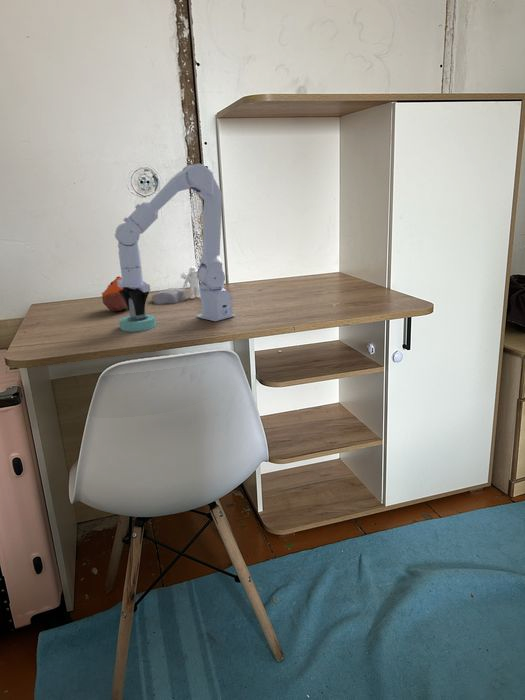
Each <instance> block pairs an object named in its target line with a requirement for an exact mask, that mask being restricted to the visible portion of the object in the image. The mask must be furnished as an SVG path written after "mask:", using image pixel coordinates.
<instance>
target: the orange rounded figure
mask: <svg viewBox="0 0 525 700" xmlns="http://www.w3.org/2000/svg"><path fill="white" fill-rule="evenodd" d="M117 280H122V276H116V277H115V279H113V280H112V281H111V282H110V283H109V284H108V285H107V288H106V289H105V290H104V291H102V292H101V296H102V297H101V298H102V303H103V305H104V306H105V307H106V308H107V309H109V311H112V312H121V311H123V310H126V309H128V308H127V305H126V303H125V300H124V299H123V297H122V295H121V294H120V293H119V290H123V289H124V288H123V287H118V284H117Z"/></svg>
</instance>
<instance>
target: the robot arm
mask: <svg viewBox="0 0 525 700" xmlns="http://www.w3.org/2000/svg"><path fill="white" fill-rule="evenodd" d="M189 189H190V190H193V192H195V193H197V195H199V197H200V198H202V199H203V219H202V221H203V223H202V225H203V228H202V254H201V258H200V261H199V263H200V266H198V268H197V269H198V271H197V277H198V279H199V283H200V284H199V288H200V307H201V314H196V315H195V317H196V318H200V319H203V320H208V321H212V322H218V321H221V320H226V319H229V318H233V317H235V316H236V314H233V300H232V298H233V297H232V295H231V292H230V291H228V290H226V289H225V288H224V287H225V286H224V283H225V281H226V275H225V272H224V270H223V262H222V258H221V234H222V233H221V231H222V230H221V229H222V207H223V206H222V202H223V201H222V200H223V195H222V194H223V192H222V191H221V189H220V187H219V185H218V183H217V181H216V178H215V176H214V173H213V171H212V170H210V169H209V167H207V166H206V165H205V164H202V163H194V164H188V165H186V166H185V167H183V168H182V170H180V171H179V172H177V173H176V174H175V175H174V176H173V177H171V178H170V180H169V181H168V182H167V183H166V184H165V185H164V186H163V187H162V188H161V189H160V191H158V193H157V194H156V195H155V196H154V197H153V198H152V199H151V200H150V201H149V202H142V203H141V204H140V203H137V204H136V206H135V210H134V211H132V213H130V215H129V216H128V217H124V218H123V219H122V220H123V221H124V222H123V223H121V224H119V225H117V227H116V228H115V234H114V237H115V239H116V240H117V248H118V258H119V266H120V274H121V278H122V280H117V284H118V287H123V288H124V289H123V290H119V293H120V294H121V295H122V297H123V299H124V300H125V303H126V305H127V308H126V309H127V310H128V312H129V314H130V311H129V303H128V298H131V299H132V301H133V304H134V308H135V312H136V315H137V316H138V315H143V314H144V310H145V311H146V308H145V307H146V302H147V299H148V296H149V294H150V292H151V286H150V283H147V282H145V281H144V279H143V270H142V269H143V268H142V260H141V254H140V253H141V251H140V249H139V240H140V235H142V234H144V233H145V232H146V231H147V230H148V229H149V228H150V226H151V225H153V223H155V221H156V220H157V219H159V210H160V209H162V208H163V207H164V206H165V205H166V204H167V203H168V202H169V201H171V199H172V198H173V197H174V196H176V195H177V193H179V192H181V191H185V190H189Z"/></svg>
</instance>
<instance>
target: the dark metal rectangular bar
mask: <svg viewBox="0 0 525 700" xmlns="http://www.w3.org/2000/svg"><path fill="white" fill-rule="evenodd" d="M128 303H129V310H128V312H129V311H130V313H129V316H130V318H131V321H141V320H145V319H146V309H145V310H144V314H143V315H138V316H137V315H136V312H135V308H134V304H133V301H132V299H131V298H128Z"/></svg>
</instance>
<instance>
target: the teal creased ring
mask: <svg viewBox="0 0 525 700" xmlns="http://www.w3.org/2000/svg"><path fill="white" fill-rule="evenodd" d="M145 314H146V313H145ZM156 326H157V320H156V316H155V315H153V314H146V319H145V320H141V321H131V318H130V315H127V316H124V317H121V318H120V319H119V328H120V330H121V331H122V332H128V333H130V332H143V331H148V330H151V329H153V328H155V327H156Z"/></svg>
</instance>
